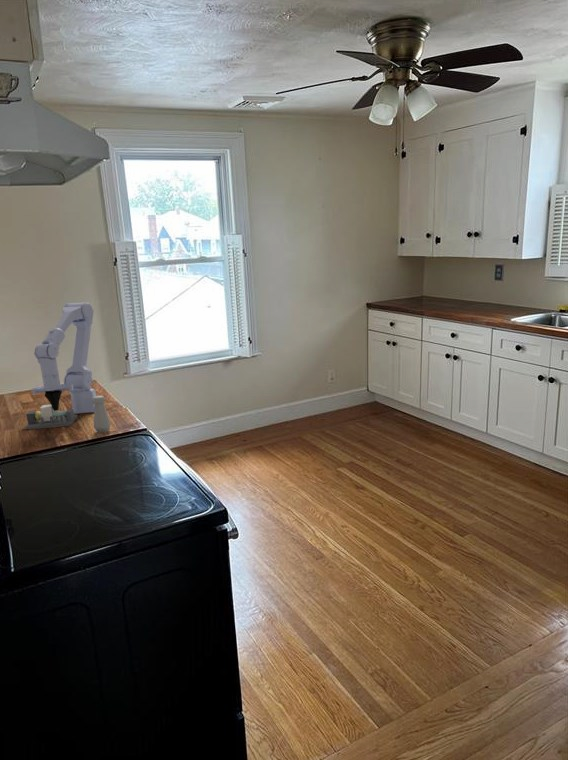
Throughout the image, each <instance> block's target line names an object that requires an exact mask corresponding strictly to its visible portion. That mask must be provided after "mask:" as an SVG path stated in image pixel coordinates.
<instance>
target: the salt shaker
mask: <svg viewBox="0 0 568 760" xmlns="http://www.w3.org/2000/svg"><path fill="white" fill-rule="evenodd" d="M105 402H106V398H105V395H96V396H95V397H93V398H92V403H93V404H95V406H94V412H93V415H94V416H93V428H94V430H95V431H96V433H97V434H105V433H109V432H110V429H111V425H112V424H111V421H110V418H109V415H108V412H107V409H106V406H105Z"/></svg>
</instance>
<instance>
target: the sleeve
mask: <svg viewBox="0 0 568 760" xmlns="http://www.w3.org/2000/svg"><path fill="white" fill-rule="evenodd" d="M39 411H40V412H41V417H43V420H44V422H45V421H50V416H53V414H52V412H56V411H54V410H53V407H52V405H51V404H43V405H41V406H40V407H39ZM55 418H56V417H53V420H54V419H55Z"/></svg>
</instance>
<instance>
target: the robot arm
mask: <svg viewBox="0 0 568 760" xmlns="http://www.w3.org/2000/svg"><path fill="white" fill-rule="evenodd" d="M93 319H94V309H93V306H92V305H91V303H90V302H87V301H86V302H85V301H84V302H66V303H65V304H64V306H63V308H62V315H61V317H60V319H59V321H58V323H57V325H56V326H55V327H54V328H51V329H49V331H48V333H47V335H46V336H45V338H44V339H43V340H42V342H41V343H38V344H37V345H36V346H35V348H34V352H33V354H34V357H35V358H36V359H37V363H38V364H39V367H40V371H41V372H40V373H41V377H42V382H43V386H36V387H32V388H31V394H32V395H33V394H39V393H44V397H45V398H46V399H47V400H48V402H49V403H50V405H52V407H53V410H54V411H55V412H56V411H58V410H59V409H60V399H61V395H62V393H63V392H64V391H68V392H69V394H70V399H71V405H72V409H73V411H74V415H78V414H86V413H94V406H95V404H93V403H92V398H93V397H95V396H97V392H96V389H95V388H91V387H92V386H93V377H92V375H93V372H92V371H91V369H89V368H88V367H87V363H88V358H89V357H88V356H89V355H88V354H89V348H90V339H91V331H92V324H93ZM71 325H73V326H75V328H76V333H75V342H74V349H73V357H72V365H71V366H70V367H69V368H67V369H66V372H65V375H64V378H63V384H61V382H60V381H61V380H60V376H59V369H58V363H57V357H58V356H59V351H60V350H59V349H60V346H61V345H62V344H63V341H64V340H65V338H66V334H65V332H66V331H67V330H68V328H69V327H70V326H71Z"/></svg>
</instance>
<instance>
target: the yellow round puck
mask: <svg viewBox="0 0 568 760" xmlns="http://www.w3.org/2000/svg"><path fill="white" fill-rule="evenodd" d="M39 413H41V412H40V410H37V411H36V413H35V417H36V420H37V421H40V418H39Z"/></svg>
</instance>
